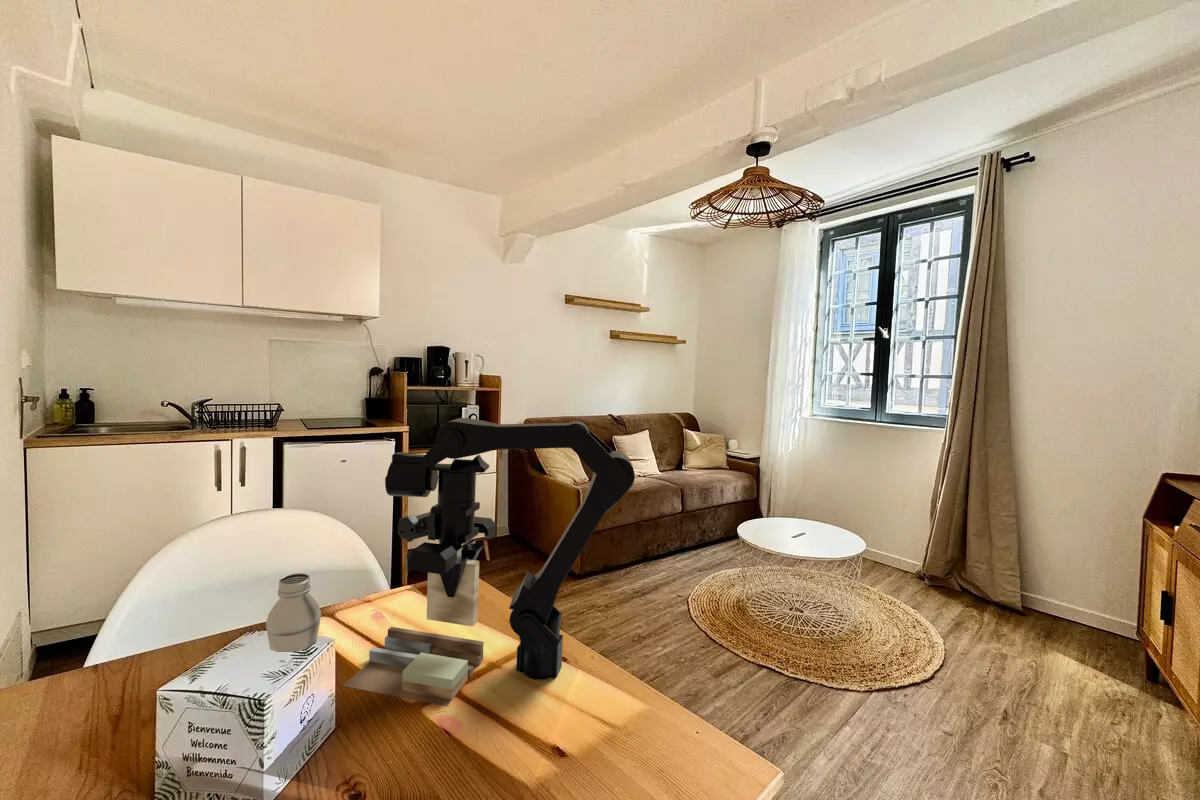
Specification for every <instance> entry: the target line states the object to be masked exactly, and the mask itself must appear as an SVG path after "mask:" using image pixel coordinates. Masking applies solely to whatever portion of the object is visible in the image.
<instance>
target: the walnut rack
mask: <svg viewBox="0 0 1200 800" xmlns="http://www.w3.org/2000/svg"><path fill="white" fill-rule="evenodd" d="M484 644H485V643H484V641H482V640H476V639H471V638H463V637H457V636H452V635H451V636H450V635H447V634H446V635H444V634H437V633H432V632H426V631H419V630H414V629H406V628H400V627H394V626H390V627H389V628H388V629H387V635H386V636H385V637H384V648H382V647H381V648H379V647H372V648H371V649H370V650H369V651H368V652H369V654H368V656H369V658H368V660H369V661H368V663H367V664H366V665H365V666H364V667H362V668H360V670H359V671H358V672H356V673H355V674H354V675H353V676H352V677H351V678H350V679H348V680H347V681H346V682H345V683H343V684H342V687H345V688H350V689H355V690H360V691H365V692H371V693H376V694H381V695H387V696H392V697H396V698H401V699H406V700H413V701H418V702H422V703H428V704H433V705H439V706H442V707H443V706H445V707H448V706H449V704H450V703H451V702H452V700H451V699H446V698H440V697H435V696H430V695H424V694H419V693H414V692H408V691H403V690H402V676H403V670H404V669H405V668H406V667H407V666H408V665H409V664H410V663H411V662H412V661H413V660H414V659H415V658H416V657H417V656H418V655H419V654H420V653H427V654H433V655H439V656H444V657H450V658H456V659H462V660H468V679H467V681H468V680H469V679H470V678H471V677H472V676H473V675H474V672H475V671H476V669H477V668H478V667H479V666H481V664H482V662H483V660H484ZM465 683H466V682H465ZM465 683H464V685H465ZM461 689H462V687H461V688H460V690H461ZM458 693H459V691H458V692H457V694H458ZM455 697H456V695H455V696H454V698H455Z"/></svg>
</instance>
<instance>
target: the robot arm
mask: <svg viewBox="0 0 1200 800" xmlns="http://www.w3.org/2000/svg"><path fill="white" fill-rule="evenodd" d="M434 437H435V439H434V440H435V442H434V443H433V445H432V446H431V447H430V448H429V450H428V451H426V453H425V454H419V453H408V452H406V451H405V452H404V451H402V452H401V451H398V452H395V453H393V454H392V455H391V462H390V464H389V467H388V470H387V473H386V476H385V478H384V485H385V486H384V487H385V491H386V493H387V495H388V496H389V497H390V496H391V497H392V496H393V497H413V498H428V497H429V495H430V493H431V492H434V491H436V489H437V504H435V505H433V506H431V508H430V511H428V512H425V513H421V514H418V515H415V514H411V515H408V516H407V515H406V516H403V517H401V518H399V521H398V527H397V535H398V536H399V537H400V538H401V539H403V540H405V541H406V543H410V542H412V541H414V540H416V539H420V538H424V537H427V540H428V541H436V540H438V543H436V542H435V543H434V542H425V541H424V542H422V543H421V544H419V545H418V546H416V547H415V548H413V549H411V550H410V551H409V552H408V553H407V554H406V555H405V568H406V570H407V571H408V570H409V571H414V572H422V573H427V574H428V573H435V574H440V576H441V579H442V582H443V585H444V588H445V591H446V594H447V596H448V597H452V598H453V597H454V596H455V594H456V591H457V589H458V586H459V583H460V580H461V577H462V574H463V571H464V569H465V566H466V563H467V560H468V559H469V560H476V561H477V558H478V557H479V554H480V552H481V551H482V550H483V548H484V545H483V544H479V543H476V539H474V538H475V537H477V536H478V534H484V537H485V539H488V540H490V539H492V537H494V536H495V535H496V530H497V529H496V528H497V526H496V525H497V524H496V523H495V522H494V521H495V520H493V519H492V518H491V517H483V516H476V515H475V514H476V511H478V510H480V507H481V504H480V503H481V502H480V501H478V502H477V501H476V490H477V489H476V488H477V487H476V484H477V473H478V474H483V473H485V472H486V471H487V470H488V469H490V464H488V463H487V462H486V461H485V460H484V459H483V458H482V457H481V455H480V454H485V453H487V452H492V451H499V450H529V449H530V450H531V449H535V450H536V449H537V450H539V449H540V450H541V449H571V450H572V451H573V452H574V453H575V454H576V455H577V456H578V457H579V458H580V459H581V460H582V461H583V462H584V463H585V464H586V466H587V467H588V468H589V469H590V470H591V471H592V472H593V474H592V476H591V480H590V483H589V486H588V488H587V492H586V494H585V497H584V498H583V501H582V502H581V504H580V505H579V507H578V509H577V511H576V512H575V513H574V515H573V517H572V519H571V520H570V521H569V523H568V524H567V527H566V528H565V530H564V532H563V533H562V534H561V537H560V538H559V540H558V542H557V544H556V545H555V547H554V548H553V550H552V552H551V553H550V554H549V557H548V558H547V560H546V562H545V563H544V565H543V566H542V567H541V569H540V570H539V571H537V572H536V573H535V574H534V575H533V574H532V573H531V572H530V571H526V574H525V576H524V578H523V580H522V583H521V584H520V586H518V587H517V588H516V589H515V591H514V593H513V597H512V599H511V602H510V605H509V606H508V608H509V610H511V612H510V614H509V621H508V622H509V625H510V628H511V629H512V631H513V633H515V634H516V635H517V636H518V637H519V644H518V646H517V647H516V660H515V661H516V664H515V666H516V667H515V670H516V671H517V672H519V673H522V674H524V675H525V677H527V678H528V679H531V680H537V681H544V680H548V679H551V678H552V679H557V677H558V676H559V674H560V672H561V669H562V663H563V645H564V644H563V641H564V635H563V634H560V633H561V625H562V617H563V614H562V612H561V611H560V610H559V609H558V608H557V607H556V606H555V602H556V598H557V596H558V593H559V591H560V590H559V589H560V587H561V586H562V584H564V581H565V580H566V578H567V576H568V575H569V573H570V571H571V570H572V568H573V567H574V564H575V563H576V561H577V560H578V558H579V557H580V555H581V553H582V551H583V550H584V549H585V547H586V545H587V543H588V542H589V540H590V539H591V537H592V535H593V534H594V533H595V531H596V528H597V527H598V525H599V524H600V522H601V520H602V519H603V517H604V516H605V514H606V513H607V512H609V510H610V509H612V508H613V507H614V506H616V504H618V503H619V502H620V500H621V499H622V498H623V497H624V496H625V495H626V494H627V492H629V490H630V489H631V487H633V484H634V482H635V479H636V477H635V476H636V475H635V470H634V467H633V464H632V461H631V460H630V458H629V456H627V455H626V454H625V453H624V452H622V451H619V450H612V448H611V447H610V446H608V444H606V443H605V442H604V441H603V440H602V439H600V437H598V436H597V435H596V434H595V433H593V431H592V430H590V429H589V427H588V426H587V424H585V423H583V422H582V421H578V420H574V421H570V422H549V423H547V422H546V423H543V422H542V423H541V422H540V423H509V424H508V423H506V424H505V423H504V424H502V423H495V422H490V421H487V420H480V419H474V418H470V417H469V418H468V417H459V418H456V419H452V420H450V421H447V422H445V423H443V424H442V425H440V427H439V428H438V429H437V432H436V433H435V436H434ZM471 456H474V457H473V459H465V458H467V457H471ZM463 458H464V459H463ZM445 459H453V460H452V462H451V463H441V462H442V461H444V460H445Z"/></svg>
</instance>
